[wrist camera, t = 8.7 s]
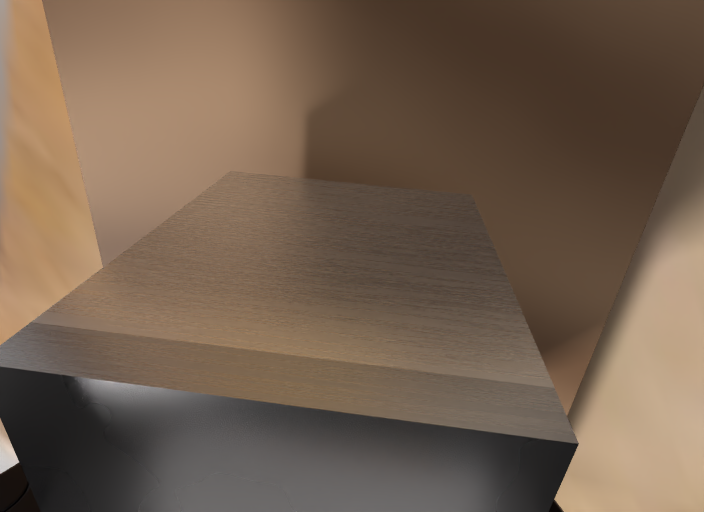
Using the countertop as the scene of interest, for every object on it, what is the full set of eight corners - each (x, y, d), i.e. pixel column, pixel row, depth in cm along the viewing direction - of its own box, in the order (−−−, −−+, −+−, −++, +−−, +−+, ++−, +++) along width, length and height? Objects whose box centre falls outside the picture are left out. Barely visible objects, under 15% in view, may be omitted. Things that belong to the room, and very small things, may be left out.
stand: (502, 459, 18) (519, 531, 16) (186, 416, 19) (151, 477, 17) (675, -52, 10) (773, -85, 7) (107, -85, 11) (13, -124, 8)
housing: (417, 460, 12) (428, 782, 7) (247, 437, 13) (133, 725, 7) (471, 194, 9) (578, 442, 3) (230, 170, 9) (-23, 363, 4)
